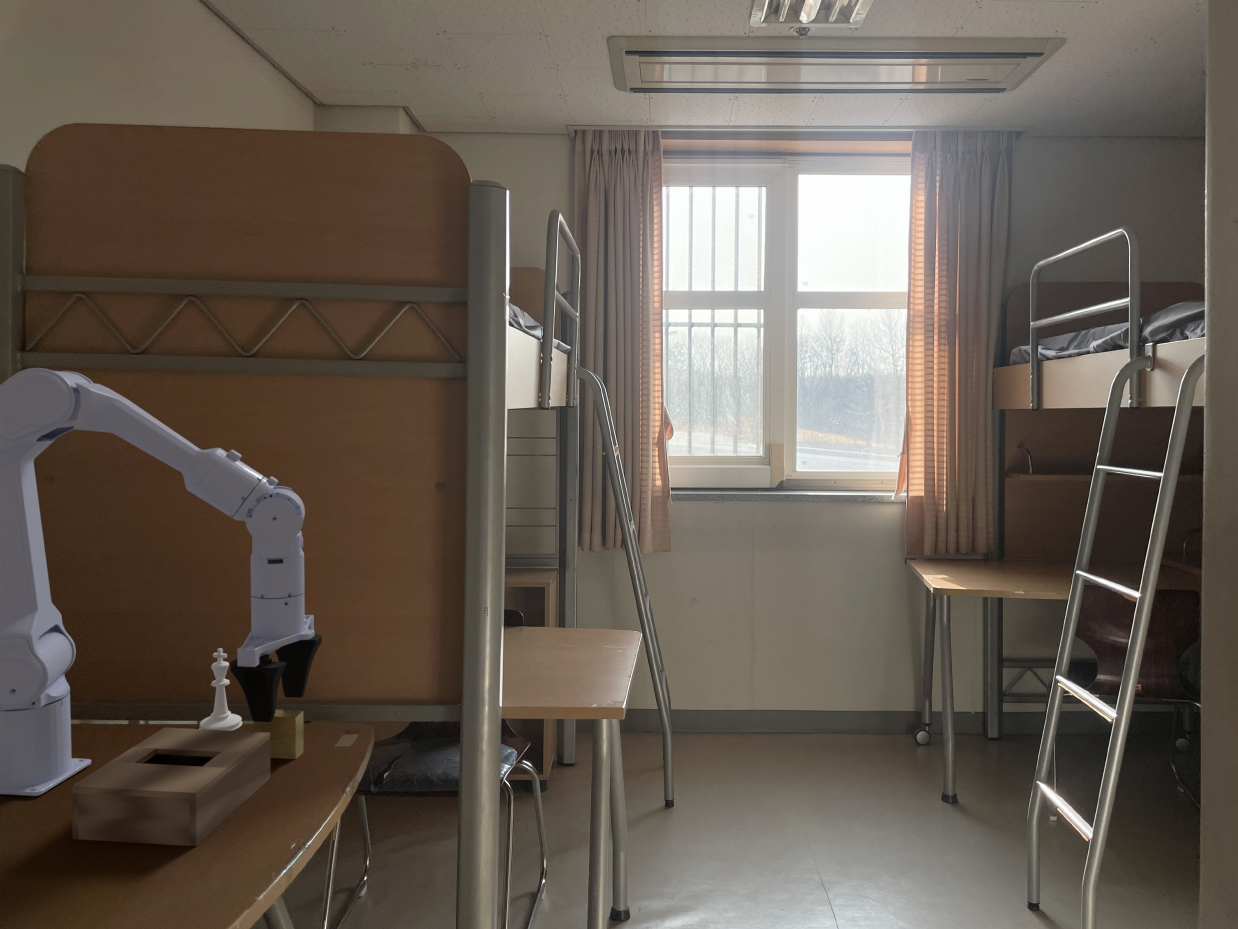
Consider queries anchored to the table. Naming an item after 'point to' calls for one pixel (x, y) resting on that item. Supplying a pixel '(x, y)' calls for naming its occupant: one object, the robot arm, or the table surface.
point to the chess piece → (221, 700)
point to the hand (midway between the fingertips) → (279, 708)
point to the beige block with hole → (171, 787)
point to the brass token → (284, 734)
